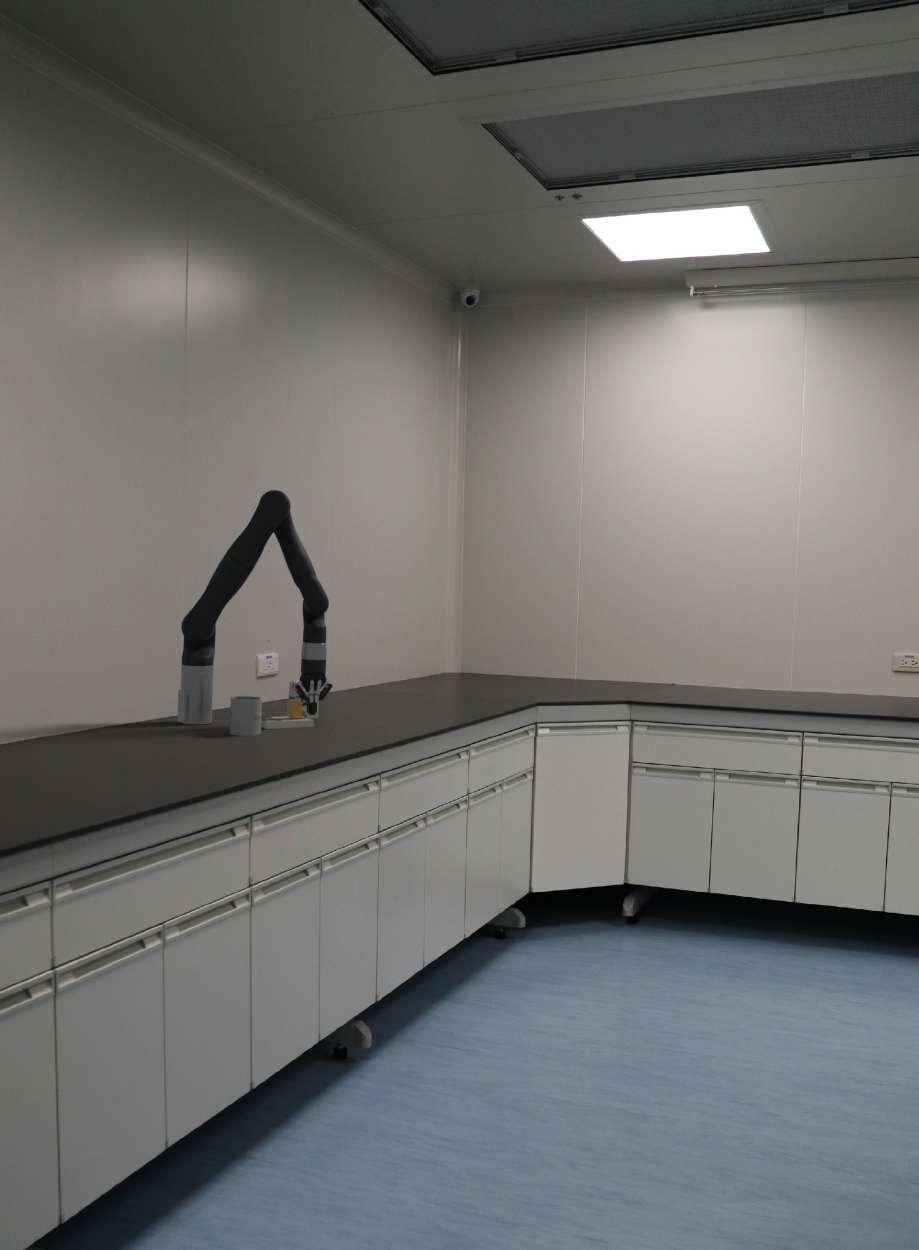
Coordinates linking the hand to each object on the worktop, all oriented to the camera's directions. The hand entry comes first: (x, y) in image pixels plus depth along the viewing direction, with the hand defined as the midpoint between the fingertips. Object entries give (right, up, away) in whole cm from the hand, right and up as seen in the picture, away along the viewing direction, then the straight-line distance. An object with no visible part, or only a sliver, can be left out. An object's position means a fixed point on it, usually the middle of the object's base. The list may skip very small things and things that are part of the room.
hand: (311, 714), depth 316 cm
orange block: (-5, -1, -3) cm, 6 cm away
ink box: (-5, -3, +13) cm, 14 cm away
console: (-8, -3, -5) cm, 10 cm away
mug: (-15, -4, -21) cm, 26 cm away
